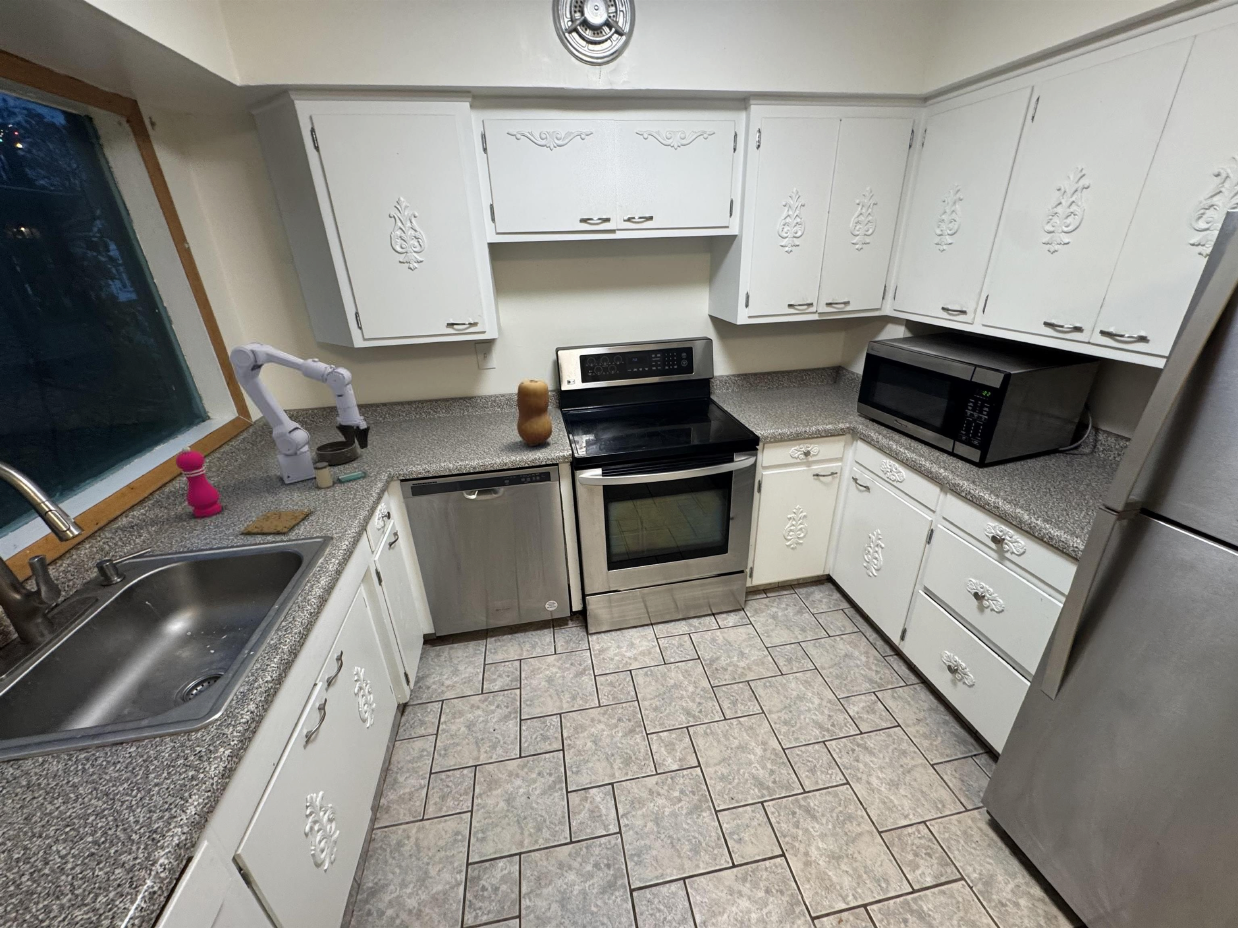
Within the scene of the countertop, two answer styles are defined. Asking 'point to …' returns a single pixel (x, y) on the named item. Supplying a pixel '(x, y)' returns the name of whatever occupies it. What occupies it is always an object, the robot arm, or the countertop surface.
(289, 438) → the robot arm
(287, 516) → the brown square cork trivet
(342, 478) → the teal rectangular slab
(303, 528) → the countertop surface
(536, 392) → the butternut squash
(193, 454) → the pepper mill
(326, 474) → the spice jar
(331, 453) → the dark round bowl
